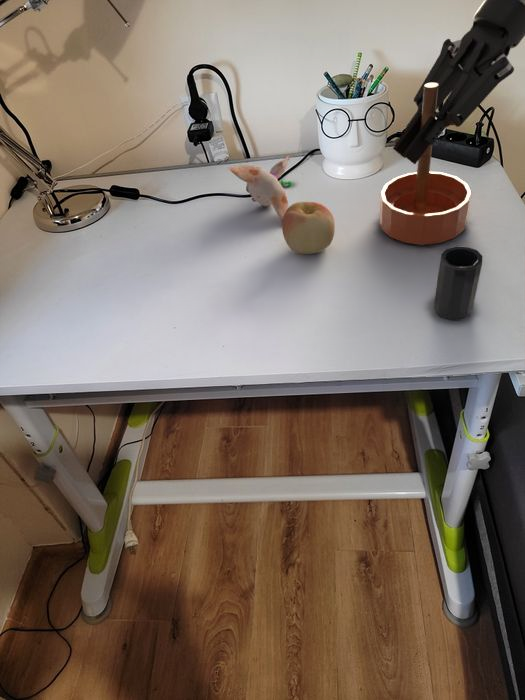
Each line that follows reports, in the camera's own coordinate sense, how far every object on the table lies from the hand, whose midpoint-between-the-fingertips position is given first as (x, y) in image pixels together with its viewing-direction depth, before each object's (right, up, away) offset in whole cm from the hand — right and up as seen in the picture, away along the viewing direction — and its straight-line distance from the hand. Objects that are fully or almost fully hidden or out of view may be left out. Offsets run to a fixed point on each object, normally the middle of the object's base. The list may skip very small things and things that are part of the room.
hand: (404, 156), depth 80 cm
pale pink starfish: (-20, -1, +22) cm, 30 cm away
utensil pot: (+5, -24, -6) cm, 26 cm away
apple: (-14, -13, +9) cm, 21 cm away
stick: (+5, -6, +8) cm, 11 cm away
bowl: (+6, -8, +10) cm, 14 cm away
